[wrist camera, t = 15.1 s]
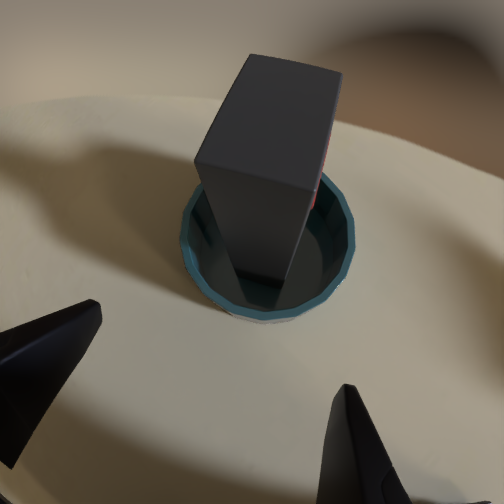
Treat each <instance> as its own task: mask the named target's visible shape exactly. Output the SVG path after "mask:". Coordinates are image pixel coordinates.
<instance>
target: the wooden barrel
mask: <svg viewBox="0 0 504 504" xmlns="http://www.w3.org/2000/svg"><path fill="white" fill-rule="evenodd" d="M469 504H492V503H491V502H490V501H482V502H476V503H469Z"/></svg>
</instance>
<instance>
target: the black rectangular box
mask: <svg viewBox="0 0 504 504" xmlns="http://www.w3.org/2000/svg"><path fill="white" fill-rule="evenodd" d="M342 79H343V74H342V73H340V72H337V71H333V70H329V69H325V68H321V67H317V66H313V65H309V64H304V63H300V62H295V61H290V60H285V59H280V58H275V57H268V56H263V55H257V54H250V55H249V57H248V58H247V60H246V62H245V63H244V65H243V67H242V69H241V71H240V72H239V74H238V76H237V78H236V79H235V81H234V83H233V85H232V87H231V89H230V90H229V92H228V94H227V96H226V98H225V100H224V101H223V103H222V105H221V107H220V109H219V111H218V113H217V115H216V117H215V119H214V121H213V123H212V124H211V126H210V128H209V130H208V132H207V134H206V136H205V138H204V141H203V143H202V145H201V147H200V149H199V151H198V153H197V155H196V157H195V159H194V163H195V166H196V169H197V172H198V174H199V177H200V180H201V183H202V185H203V188H204V191H205V194H206V196H207V199H208V202H209V204H210V207H211V210H212V213H213V215H214V218H215V221H216V223H217V226H218V229H219V231H220V234H221V237H222V239H223V242H224V244H225V247H226V250H227V252H228V255H229V258H230V260H231V263H232V265H233V268H234V271H235V273H236V276H238V277H241V278H244V279H247V280H251V281H254V282H257V283H261V284H264V285H267V286H271V287H274V288H277V289H282V287H283V284H284V282H285V279H286V276H287V274H288V271H289V268H290V266H291V263H292V260H293V257H294V255H295V252H296V249H297V246H298V243H299V241H300V238H301V235H302V232H303V229H304V227H305V224H306V221H307V218H308V215H309V212H310V210H311V209H312V208H313V205H314V202H315V198H316V194H317V190H318V186H319V182H320V178H321V174H322V170H323V166H324V161H325V157H326V153H327V149H328V145H329V140H330V136H331V130H332V125H333V121H334V116H335V112H336V107H337V103H338V98H339V93H340V88H341V83H342Z"/></svg>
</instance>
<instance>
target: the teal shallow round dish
mask: <svg viewBox="0 0 504 504" xmlns="http://www.w3.org/2000/svg"><path fill="white" fill-rule="evenodd" d="M179 239H180V240H179V241H180V245H181V250H182V254H183V259H184V263H185V267H186V270H187V271H188V273H189V274H190V276H191V277H192V279H193V280H194V281H195V283H196V284H197V286H198V287H199V289H200V290H201V292H202V293H203V294H204V295H205V296H206V297H207V298H208V299H210V300H211V301H212V302H213V303H215V304H216V305H217V306H219V307H220V308H222V309H223V310H225V311H226V312H228V313H229V314H231V315H232V316H234V317H235V318H237V319H241V320H245V321H249V322H253V323H258V324H275V323H282V322H288V321H292V320H294V319H296V318H297V317H299V316H301V315H303V314H305V313H307V312H309V311H311V310H312V309H314V308H316V307H317V306H319V305H320V304H322V303H323V302H325V301H326V300H327V299H328V298H329V297H330V296H331V294H332V293H333V292H334V291H335V290H336V289H337V287H338V286H339V285H340V284H341V283H342V281H343V280H344V279H345V277H346V276H347V273H348V270H349V267H350V264H351V261H352V258H353V255H354V252H355V248H356V246H355V224H354V218H353V216H352V213H351V211H350V209H349V206H348V204H347V202H346V199H345V197H344V195H343V193H342V192H341V191H340V190H339V189H338V188H337V187H336V185H335V184H334V183H333V182H332V181H331V180H330V179H329V178H328V177H327V176H326V175H325V174H324V173H323V172H322V174H321V178H320V182H319V186H318V190H317V194H316V198H315V202H314V205H313V208H312V209H311V210H310V212H309V215H308V218H307V221H306V224H305V227H304V229H303V232H302V235H301V238H300V241H299V243H298V246H297V249H296V252H295V255H294V257H293V260H292V263H291V266H290V268H289V271H288V274H287V276H286V279H285V282H284V284H283V287H282V289H277V288H274V287H271V286H267V285H264V284H261V283H257V282H254V281H251V280H247V279H244V278H241V277H238V276H236V273H235V271H234V268H233V265H232V263H231V260H230V258H229V255H228V252H227V250H226V247H225V244H224V242H223V239H222V237H221V234H220V231H219V229H218V226H217V223H216V221H215V218H214V215H213V213H212V210H211V207H210V204H209V202H208V199H207V196H206V194H205V191H204V188H203V185H202V183H200V184H199V185H198V186H197V188H196V189H195V191H194V193H193V195H192V197H191V198H190V200H189V202H188V204H187V206H186V207H185V209H184V212H183V217H182V224H181V231H180V238H179Z"/></svg>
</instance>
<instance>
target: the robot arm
mask: <svg viewBox="0 0 504 504" xmlns="http://www.w3.org/2000/svg"><path fill="white" fill-rule="evenodd" d="M101 324H102V312H101V306H100V303H99V302H97V301H95V300H92V299H88V300H86V301H83V302H80V303H78V304H75V305H72V306H70V307H67V308H64V309H62V310H59V311H56V312H54V313H51V314H48V315H46V316H43V317H40V318H38V319H35V320H33V321H30V322H27V323H25V324H22V325H19V326H17V327H14V329H13V328H11V329H9V330H6V331H3V332H1V333H0V461H1V462H2V463H3V464H5V465H6V466H7V467H8V468H10V469H11V470H12V468H13V467H14V465H15V463H16V461H17V460H18V458H19V456H20V454H21V453H22V451H23V449H24V448H25V446H26V444H27V442H28V441H29V439H30V437H31V436H32V434H33V432H34V430H35V429H36V427H37V426H38V424H39V422H40V421H41V419H42V417H43V416H44V414H45V413H46V411H47V410H48V408H49V406H50V405H51V403H52V402H53V400H54V399H55V397H56V396H57V394H58V393H59V391H60V390H61V388H62V387H63V385H64V384H65V382H66V381H67V379H68V378H69V376H70V375H71V373H72V372H73V370H74V369H75V367H76V366H77V364H78V363H79V362H80V360H81V359H82V357H83V356H84V354H85V352H86V351H87V349H88V347H89V345H90V343H91V342H92V340H93V338H94V336H95V335H96V333H97V331H98V329H99V327H100V326H101ZM0 504H12V503H11V502H10V501H9V500H7V499H6V498H5V497H4V496H3V495H2V494H1V493H0ZM316 504H413V503H412V502H411V500H410V498H409V497H408V495H407V493H406V491H405V490H404V488H403V486H402V484H401V482H400V480H399V478H398V476H397V473H396V471H395V469H394V467H393V466H392V463H391V460H390V458H389V456H388V454H387V452H386V449H385V447H384V445H383V443H382V441H381V439H380V437H379V434H378V432H377V430H376V428H375V426H374V424H373V422H372V420H371V417H370V415H369V413H368V411H367V409H366V407H365V405H364V403H363V401H362V399H361V397H360V395H359V392H358V390H357V388H356V387H355V386H354V385H349V384H343V385H342V386H341V388H340V389H339V391H338V392H337V394H336V395H335V397H334V399H333V402H332V407H331V412H330V416H329V421H328V426H327V430H326V434H325V439H324V446H323V455H322V464H321V472H320V479H319V486H318V493H317V500H316Z"/></svg>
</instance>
